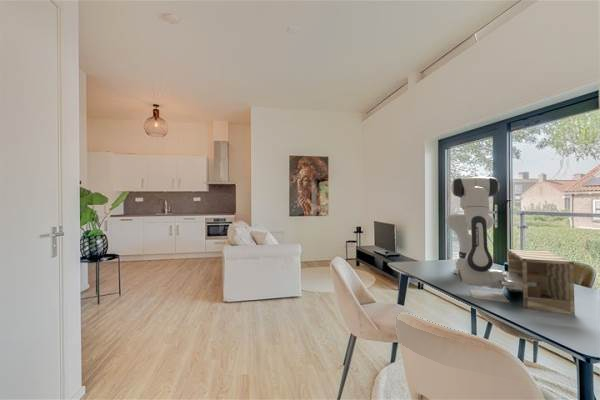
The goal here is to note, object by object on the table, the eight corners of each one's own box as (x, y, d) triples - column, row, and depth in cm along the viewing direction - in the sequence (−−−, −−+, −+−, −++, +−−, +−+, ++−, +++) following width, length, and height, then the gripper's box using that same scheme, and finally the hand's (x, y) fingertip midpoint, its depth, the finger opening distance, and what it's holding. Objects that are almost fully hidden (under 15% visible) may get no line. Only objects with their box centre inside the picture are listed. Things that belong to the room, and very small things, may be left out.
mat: (469, 289, 144) (469, 289, 144) (502, 293, 138) (502, 292, 138) (473, 298, 132) (473, 297, 132) (509, 302, 126) (509, 301, 126)
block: (523, 291, 131) (522, 270, 131) (536, 293, 129) (536, 271, 129) (526, 295, 126) (525, 273, 127) (540, 296, 124) (539, 274, 124)
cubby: (509, 290, 142) (507, 249, 142) (549, 294, 135) (548, 251, 135) (524, 308, 118) (523, 258, 118) (574, 314, 111) (573, 261, 111)
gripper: (502, 278, 124) (541, 281, 118) (493, 268, 142) (526, 270, 136) (502, 292, 124) (541, 296, 118) (493, 280, 142) (527, 283, 136)
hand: (533, 282), depth 127 cm, fingers closed on block, 5 cm apart
